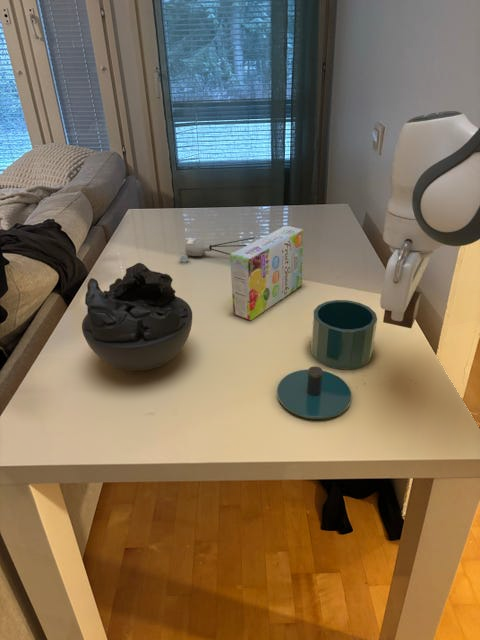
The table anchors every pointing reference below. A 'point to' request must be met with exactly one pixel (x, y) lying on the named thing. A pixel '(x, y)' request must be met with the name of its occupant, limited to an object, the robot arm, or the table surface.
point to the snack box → (266, 271)
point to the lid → (314, 393)
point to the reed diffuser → (202, 248)
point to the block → (409, 313)
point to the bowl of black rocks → (136, 320)
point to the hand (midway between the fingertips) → (401, 310)
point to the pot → (343, 334)
